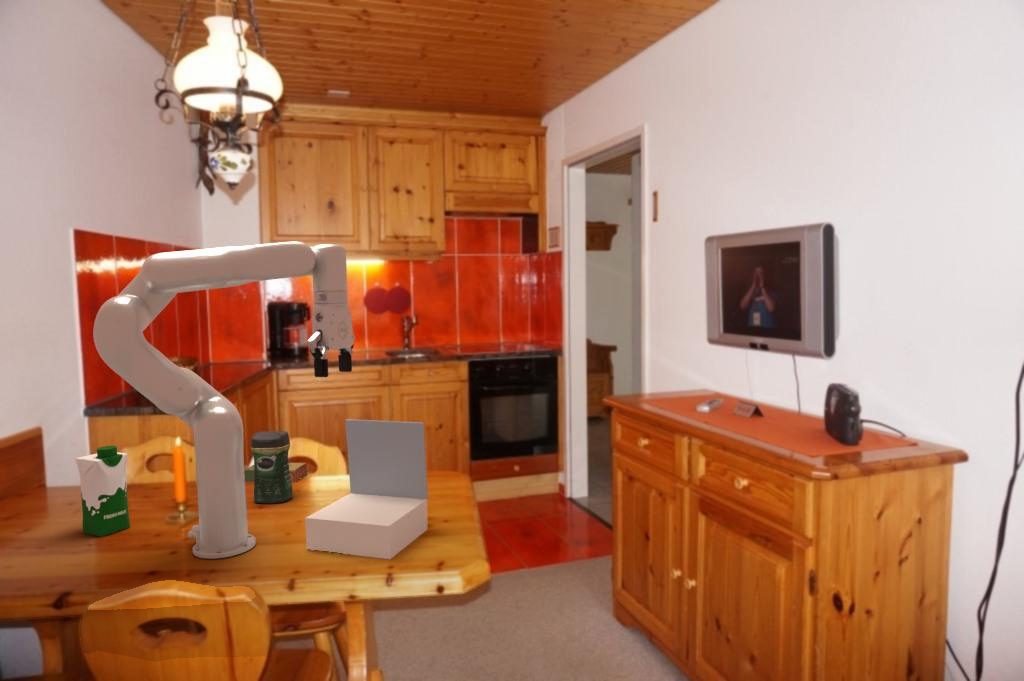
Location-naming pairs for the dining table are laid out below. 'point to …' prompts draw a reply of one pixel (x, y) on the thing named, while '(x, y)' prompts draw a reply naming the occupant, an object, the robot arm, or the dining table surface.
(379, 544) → the box body
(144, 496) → the dining table surface
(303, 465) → the carton
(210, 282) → the robot arm
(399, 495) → the lid flap
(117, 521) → the milk carton
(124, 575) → the dining table surface
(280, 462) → the coffee jar
